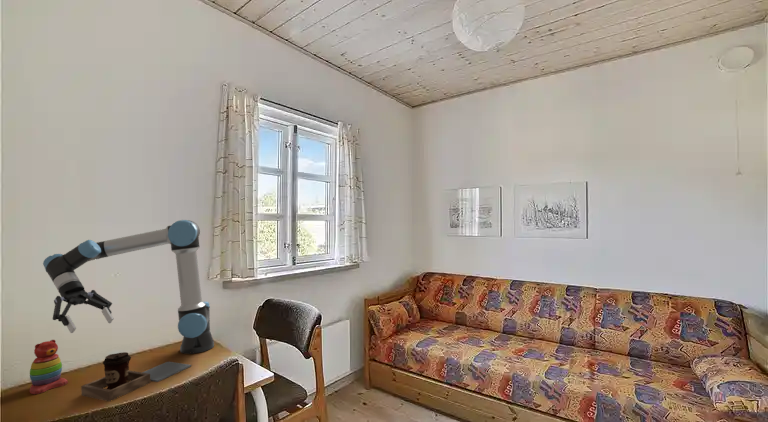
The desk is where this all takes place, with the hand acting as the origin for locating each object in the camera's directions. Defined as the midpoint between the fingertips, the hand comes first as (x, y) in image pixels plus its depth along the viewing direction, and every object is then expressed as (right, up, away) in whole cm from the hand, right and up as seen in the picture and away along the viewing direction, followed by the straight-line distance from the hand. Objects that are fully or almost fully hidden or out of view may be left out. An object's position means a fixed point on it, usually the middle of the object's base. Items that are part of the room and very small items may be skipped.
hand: (93, 325), depth 144 cm
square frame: (+13, -23, -4) cm, 27 cm away
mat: (+21, -23, +11) cm, 33 cm away
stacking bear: (-18, -24, -1) cm, 30 cm away
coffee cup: (+13, -23, -4) cm, 27 cm away
